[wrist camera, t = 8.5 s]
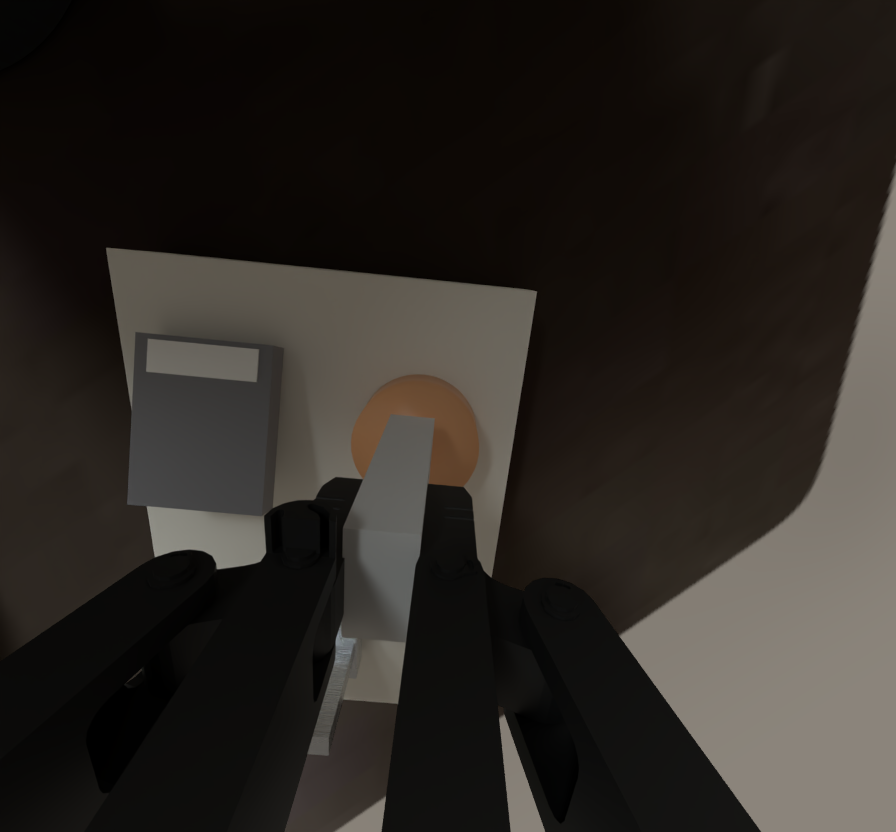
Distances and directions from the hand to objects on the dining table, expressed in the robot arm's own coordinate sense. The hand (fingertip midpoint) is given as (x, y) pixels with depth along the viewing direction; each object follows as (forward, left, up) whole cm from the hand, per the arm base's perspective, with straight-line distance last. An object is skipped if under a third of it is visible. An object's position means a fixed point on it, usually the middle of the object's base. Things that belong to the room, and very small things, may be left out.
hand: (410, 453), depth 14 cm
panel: (+5, -4, -6) cm, 9 cm away
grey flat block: (0, -8, -2) cm, 8 cm away
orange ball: (0, 0, -6) cm, 6 cm away
